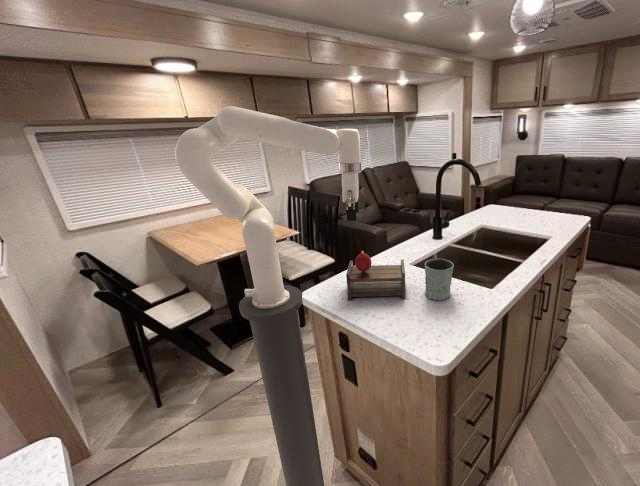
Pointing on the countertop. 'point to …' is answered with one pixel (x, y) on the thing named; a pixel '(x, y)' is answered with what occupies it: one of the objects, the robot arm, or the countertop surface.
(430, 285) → the green cup
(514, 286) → the countertop surface
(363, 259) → the onion
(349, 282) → the wooden crate
